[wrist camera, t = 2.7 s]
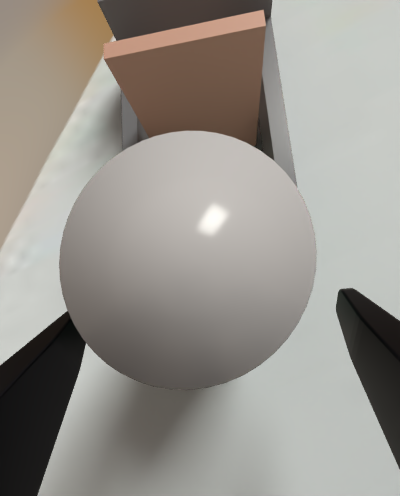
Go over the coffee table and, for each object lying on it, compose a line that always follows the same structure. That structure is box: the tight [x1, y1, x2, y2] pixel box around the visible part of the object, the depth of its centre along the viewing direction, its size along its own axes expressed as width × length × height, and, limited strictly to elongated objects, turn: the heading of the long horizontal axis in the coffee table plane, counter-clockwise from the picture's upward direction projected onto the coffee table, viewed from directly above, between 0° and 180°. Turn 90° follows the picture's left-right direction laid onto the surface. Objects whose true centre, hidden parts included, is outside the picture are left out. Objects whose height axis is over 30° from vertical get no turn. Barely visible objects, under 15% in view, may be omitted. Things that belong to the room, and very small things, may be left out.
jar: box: [59, 131, 317, 390], centre depth 13 cm, size 6×6×12 cm
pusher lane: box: [98, 0, 297, 187], centre depth 18 cm, size 15×10×7 cm, turn 4°
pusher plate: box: [104, 10, 266, 146], centre depth 16 cm, size 1×7×9 cm, turn 94°
